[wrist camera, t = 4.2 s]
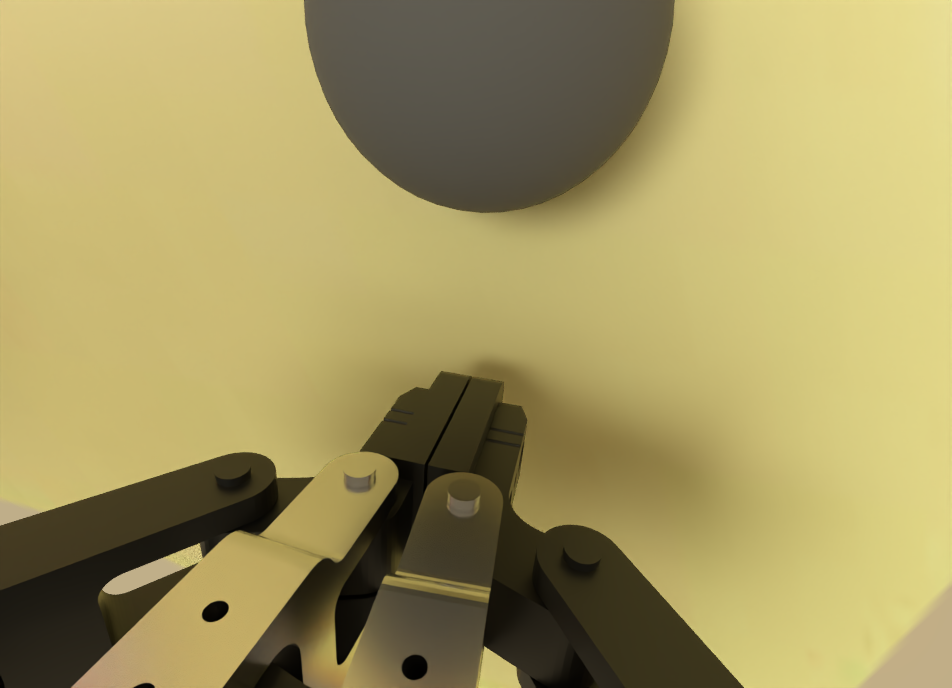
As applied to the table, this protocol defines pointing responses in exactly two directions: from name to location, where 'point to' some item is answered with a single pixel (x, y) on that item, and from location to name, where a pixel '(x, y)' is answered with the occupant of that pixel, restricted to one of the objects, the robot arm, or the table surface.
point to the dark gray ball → (488, 89)
